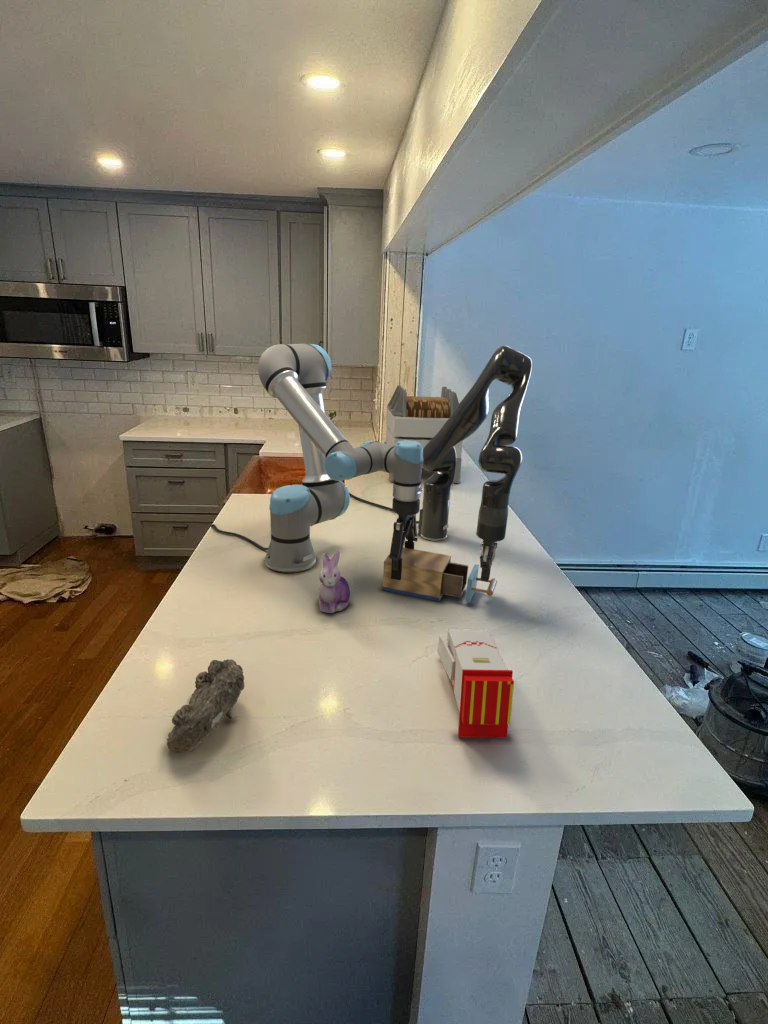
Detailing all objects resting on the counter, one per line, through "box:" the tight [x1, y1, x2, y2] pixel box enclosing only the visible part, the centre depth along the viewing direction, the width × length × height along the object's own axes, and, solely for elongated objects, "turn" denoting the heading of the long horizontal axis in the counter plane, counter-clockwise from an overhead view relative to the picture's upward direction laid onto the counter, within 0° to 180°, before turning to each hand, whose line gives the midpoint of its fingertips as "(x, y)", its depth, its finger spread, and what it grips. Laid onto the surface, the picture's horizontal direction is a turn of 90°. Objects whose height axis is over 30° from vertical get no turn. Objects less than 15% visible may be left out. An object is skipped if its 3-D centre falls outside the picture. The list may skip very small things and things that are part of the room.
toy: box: [437, 628, 515, 738], centre depth 117 cm, size 12×13×30 cm
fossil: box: [166, 658, 245, 754], centre depth 106 cm, size 22×10×15 cm
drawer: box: [441, 561, 498, 604], centre depth 157 cm, size 21×10×7 cm, turn 71°
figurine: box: [318, 551, 351, 614], centre depth 147 cm, size 9×10×15 cm
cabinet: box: [381, 546, 452, 602], centre depth 161 cm, size 16×11×9 cm
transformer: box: [383, 384, 464, 484], centre depth 268 cm, size 34×33×41 cm
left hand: (402, 570), depth 162 cm, fingers closed on cabinet, 11 cm apart
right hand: (484, 579), depth 155 cm, fingers closed
